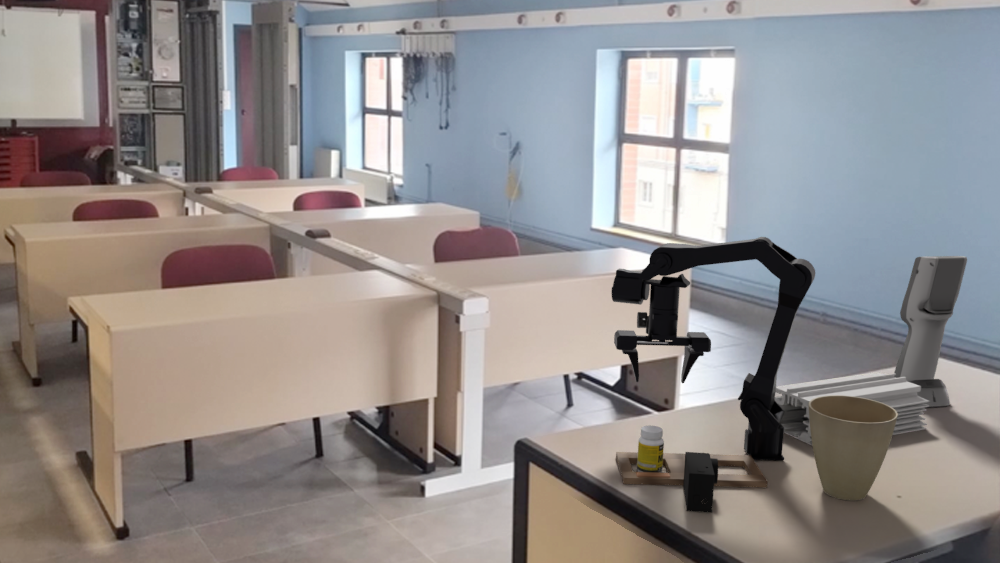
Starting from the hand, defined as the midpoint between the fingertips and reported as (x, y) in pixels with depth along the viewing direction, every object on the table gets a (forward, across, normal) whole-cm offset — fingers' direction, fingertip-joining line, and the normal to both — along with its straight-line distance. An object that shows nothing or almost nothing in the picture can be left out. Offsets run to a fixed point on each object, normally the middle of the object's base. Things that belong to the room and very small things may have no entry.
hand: (659, 382), depth 204 cm
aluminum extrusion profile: (+13, -43, -10) cm, 46 cm away
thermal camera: (+12, -66, -32) cm, 74 cm away
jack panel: (+12, -4, +18) cm, 22 cm away
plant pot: (+12, -30, +26) cm, 42 cm away
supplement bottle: (+12, +4, +18) cm, 22 cm away
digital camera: (+12, -3, +31) cm, 33 cm away
